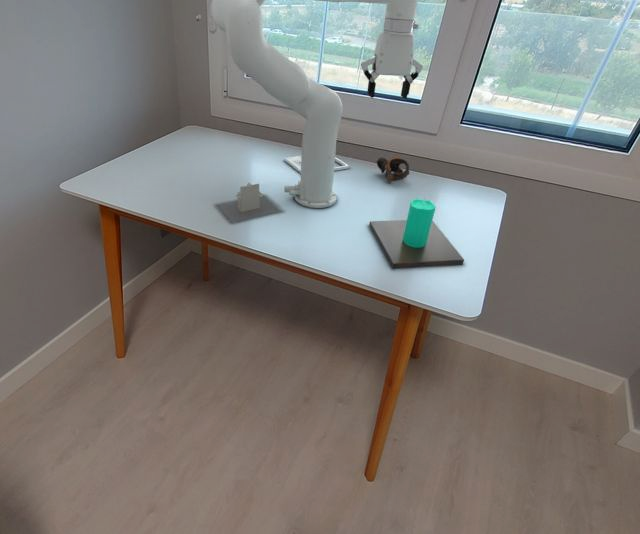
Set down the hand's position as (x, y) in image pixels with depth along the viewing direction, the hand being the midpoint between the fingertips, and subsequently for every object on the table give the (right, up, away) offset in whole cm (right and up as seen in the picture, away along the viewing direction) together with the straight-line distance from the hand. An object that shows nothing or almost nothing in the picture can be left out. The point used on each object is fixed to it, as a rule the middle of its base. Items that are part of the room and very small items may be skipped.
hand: (387, 97), depth 114 cm
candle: (+5, -42, -11) cm, 43 cm away
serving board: (+5, -42, -10) cm, 43 cm away
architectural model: (-39, -32, +1) cm, 50 cm away
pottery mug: (+5, -17, +25) cm, 31 cm away
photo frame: (-20, -12, +30) cm, 38 cm away
